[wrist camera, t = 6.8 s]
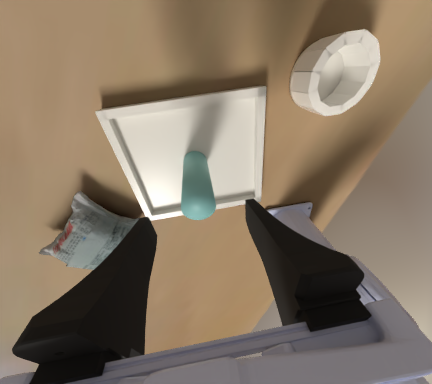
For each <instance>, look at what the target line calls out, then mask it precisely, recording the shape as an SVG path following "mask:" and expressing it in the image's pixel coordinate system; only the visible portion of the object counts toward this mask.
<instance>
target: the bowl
mask: <svg viewBox="0 0 432 384" xmlns="http://www.w3.org/2000/svg"><path fill="white" fill-rule="evenodd" d="M377 41H378V40H377V39H376V38H375V37H374V36H373V35H372V34H371V33H370V32H369V31H367V30H365V29H363V30H356V31H348V32H344V33H340V34H336V35H332V36H329V37H325V38H321V39H320V40H318V41H316V42H314V43H312V44H311V45H310V46H308V47H307V48H306V49H305V50H304V51H303V52H302V53H301V55H300V56H299V58H298V59H297V61H296V62H295V65H294V67H293V69H292V72H291V76H290V81H289V90H290V95H291V98H292V100H293V101H294V103H295V104H296V105H297V106H299V107H301V108H303V109H305V110H307V111H310V112H314V113H317V114H320V115H323V116H330V115H337V114H341V113H343V112H345V111H346V110H348V109H349V108H351V107H352V106H354V105H355V104H357V103H358V102H359V101H360V100H361V98H362V97H363V96H364V94H365V93H366V92H367V90H368V89H369V88H370V86H371V85H372V84H371V83H373V81H374V78H375V75H376V73H377V70H378V67H379V64H380V62H379V61H380V50H379V41H378V42H377Z"/></svg>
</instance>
